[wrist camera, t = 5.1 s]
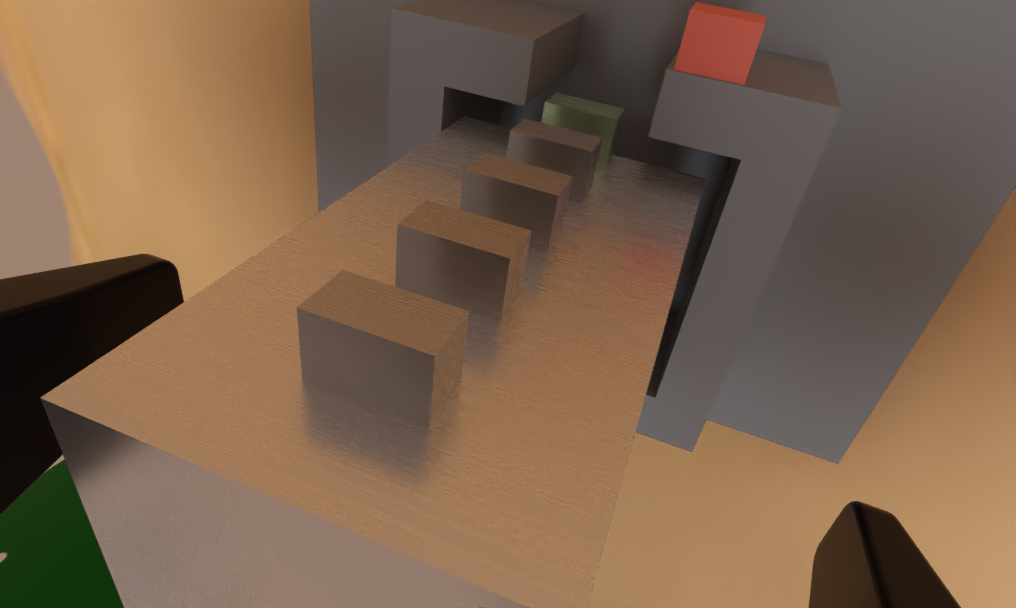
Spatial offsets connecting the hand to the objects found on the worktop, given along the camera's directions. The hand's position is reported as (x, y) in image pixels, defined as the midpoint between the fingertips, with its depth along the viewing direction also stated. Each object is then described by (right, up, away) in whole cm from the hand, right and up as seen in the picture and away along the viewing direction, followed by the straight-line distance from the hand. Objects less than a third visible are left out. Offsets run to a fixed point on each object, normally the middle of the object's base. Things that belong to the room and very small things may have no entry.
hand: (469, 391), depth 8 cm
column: (+1, +2, +3) cm, 4 cm away
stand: (+3, +4, +6) cm, 8 cm away
